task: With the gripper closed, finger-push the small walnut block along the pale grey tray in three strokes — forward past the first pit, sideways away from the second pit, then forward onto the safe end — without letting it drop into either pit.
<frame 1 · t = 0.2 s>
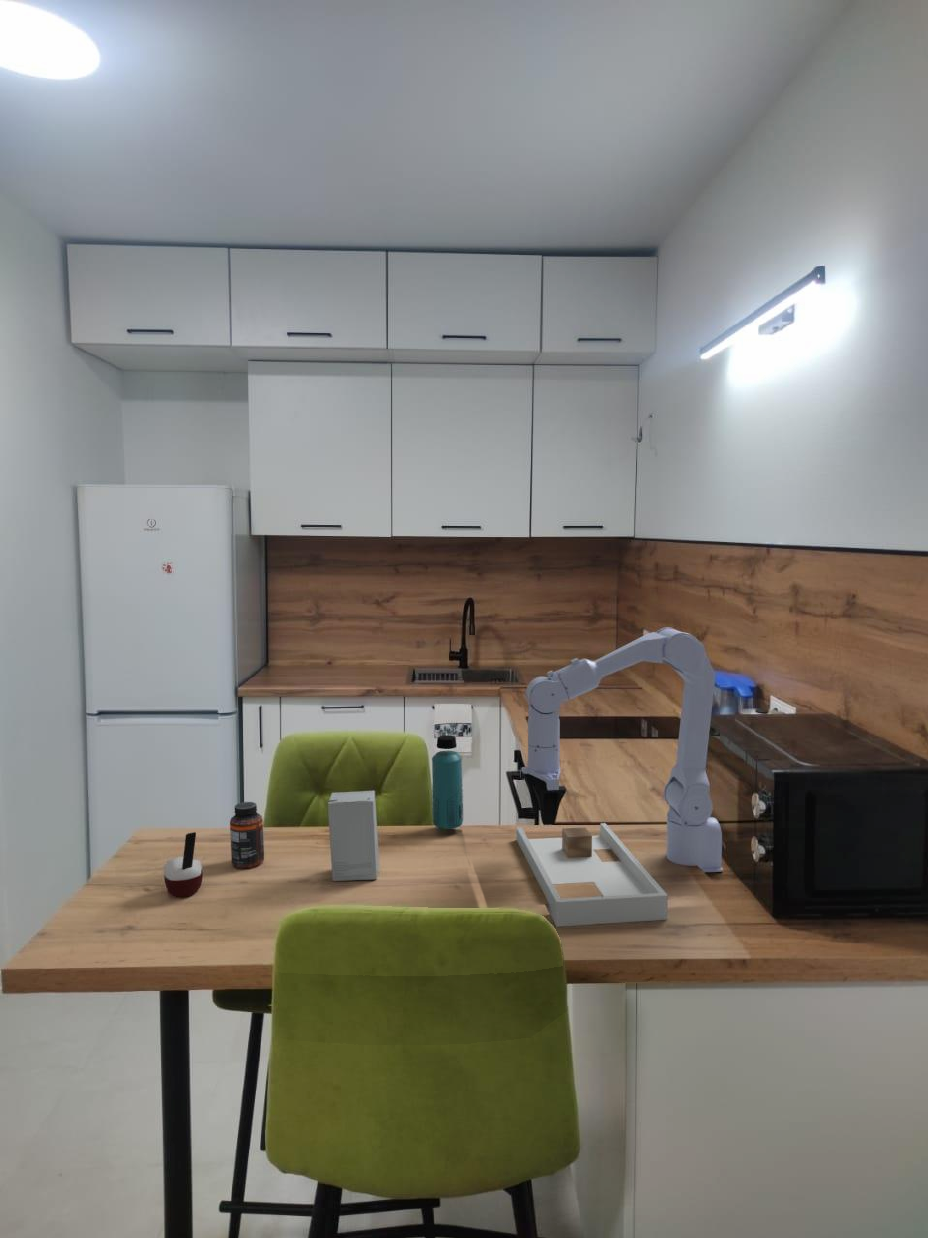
hand: (543, 817, 145), 10 cm above the countertop, fingers open, 7 cm apart
walnut block: (576, 852, 150), point 1 cm above the countertop, touching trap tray
skincare box: (354, 876, 144), on the countertop
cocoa: (184, 895, 136), on the countertop
beverage bottle: (447, 831, 166), on the countertop
supplement bottle: (247, 864, 149), on the countertop
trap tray: (583, 879, 141), on the countertop
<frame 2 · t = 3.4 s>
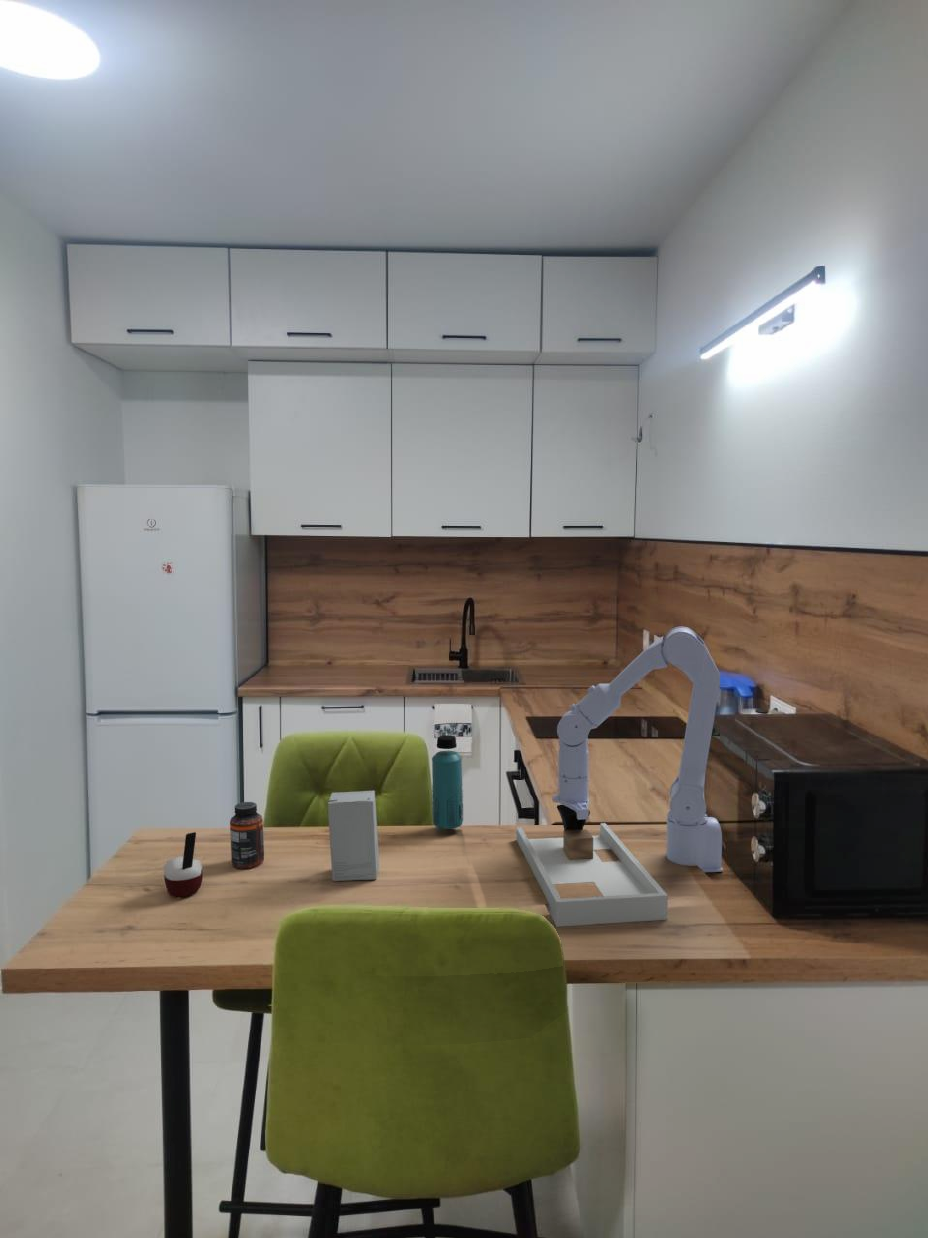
hand: (572, 843, 152), 2 cm above the countertop, fingers closed
walnut block: (578, 854, 149), point 1 cm above the countertop, touching gripper, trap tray
everything else where it was.
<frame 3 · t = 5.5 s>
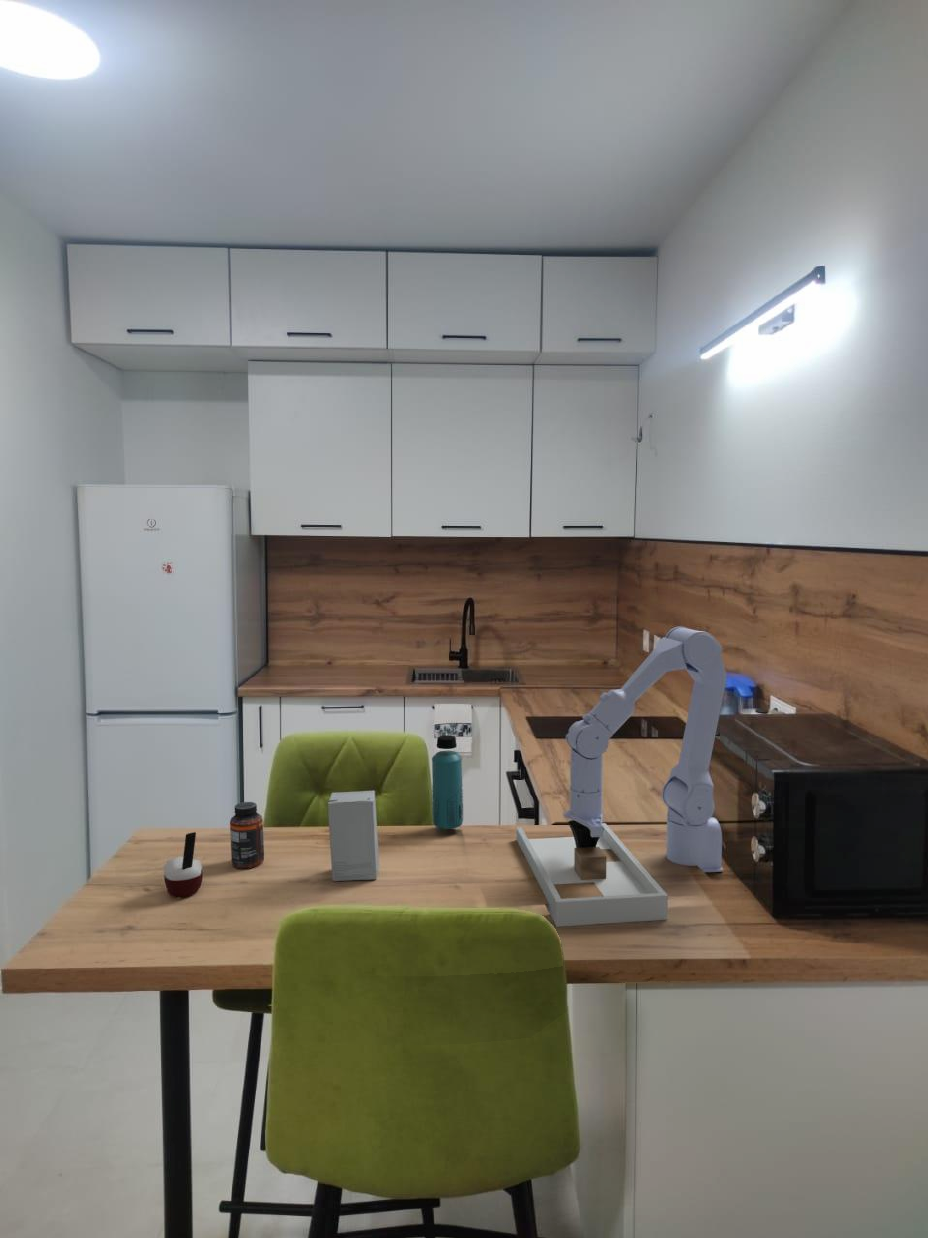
hand: (585, 861, 144), 2 cm above the countertop, fingers closed
walnut block: (590, 874, 140), point 1 cm above the countertop, touching gripper, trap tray
everything else where it was.
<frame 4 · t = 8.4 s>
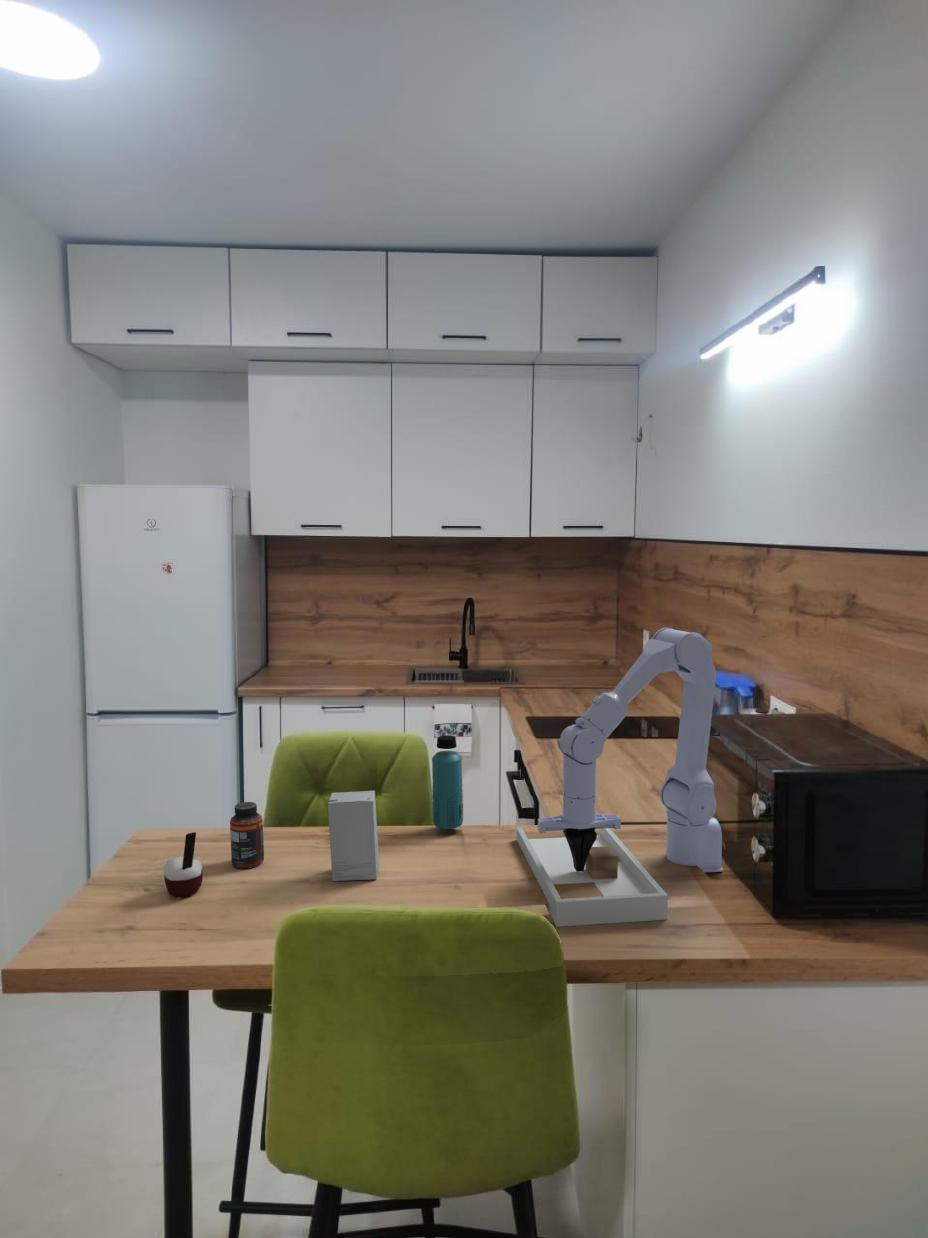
hand: (578, 869, 140), 2 cm above the countertop, fingers closed
walnut block: (601, 873, 140), point 2 cm above the countertop, touching gripper
everything else where it was.
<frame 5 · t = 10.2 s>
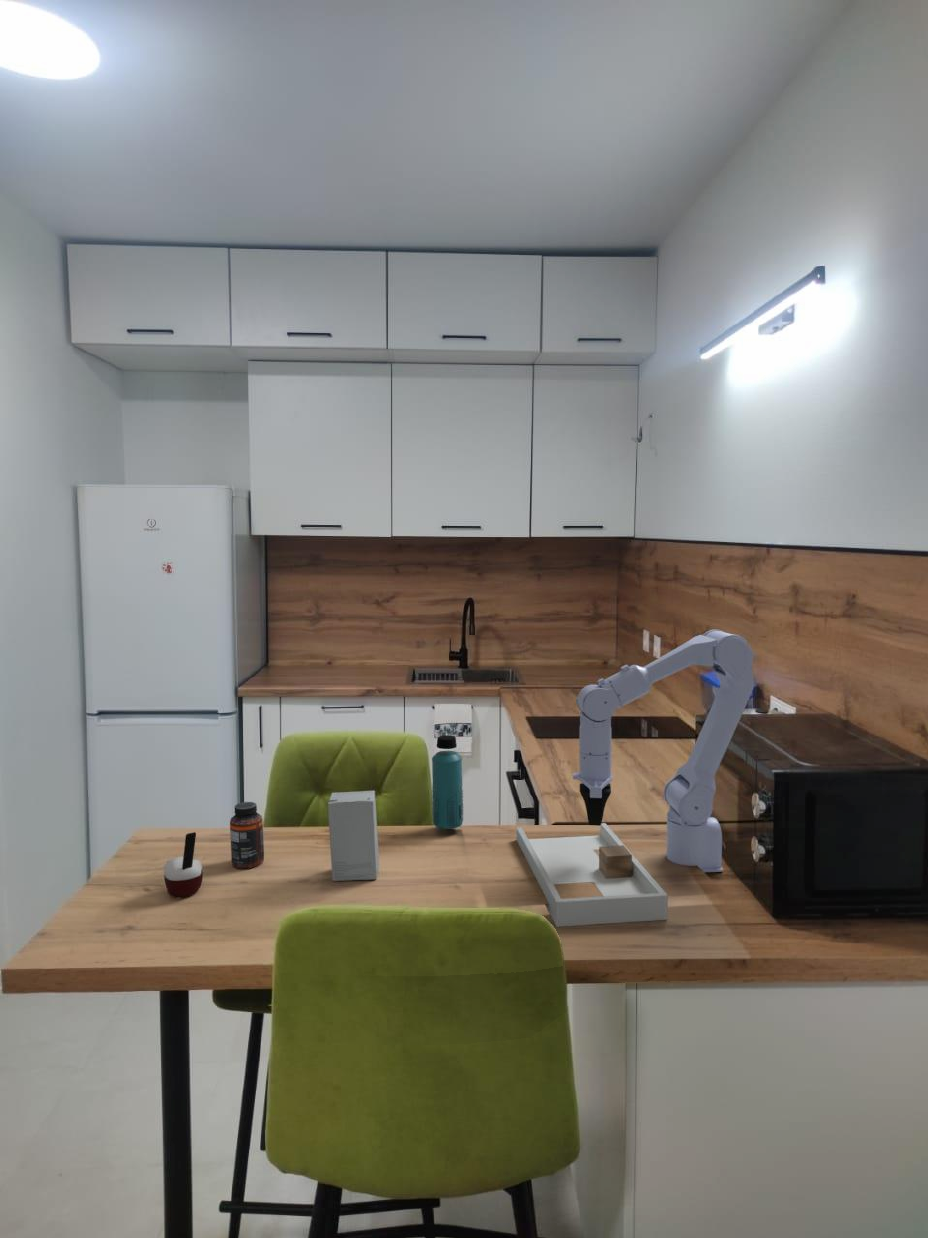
hand: (594, 824, 145), 8 cm above the countertop, fingers closed
walnut block: (615, 872, 140), point 1 cm above the countertop, touching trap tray
everything else where it was.
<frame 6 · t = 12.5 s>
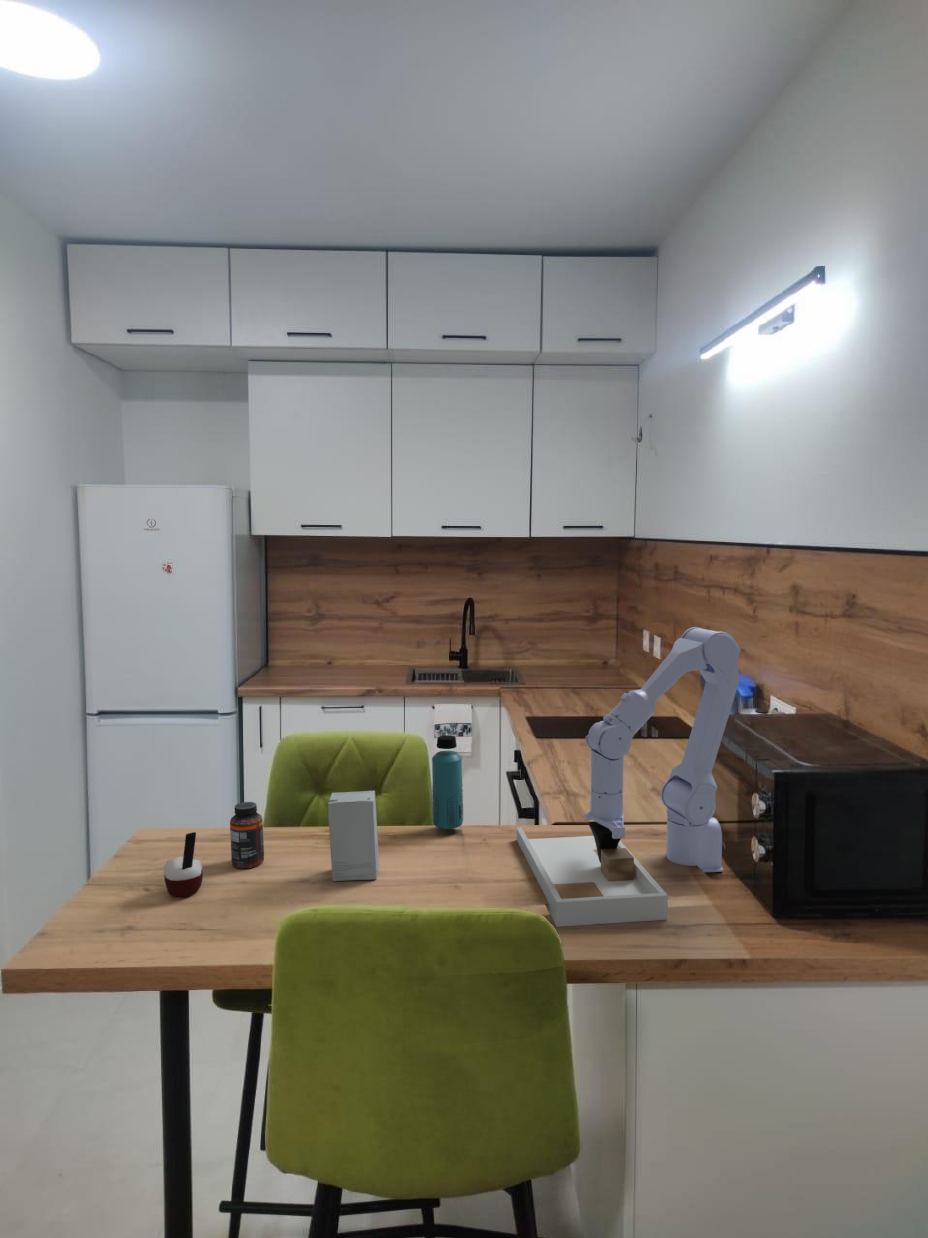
hand: (606, 863, 143), 2 cm above the countertop, fingers closed
walnut block: (616, 875, 139), point 1 cm above the countertop, touching gripper, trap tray
everything else where it was.
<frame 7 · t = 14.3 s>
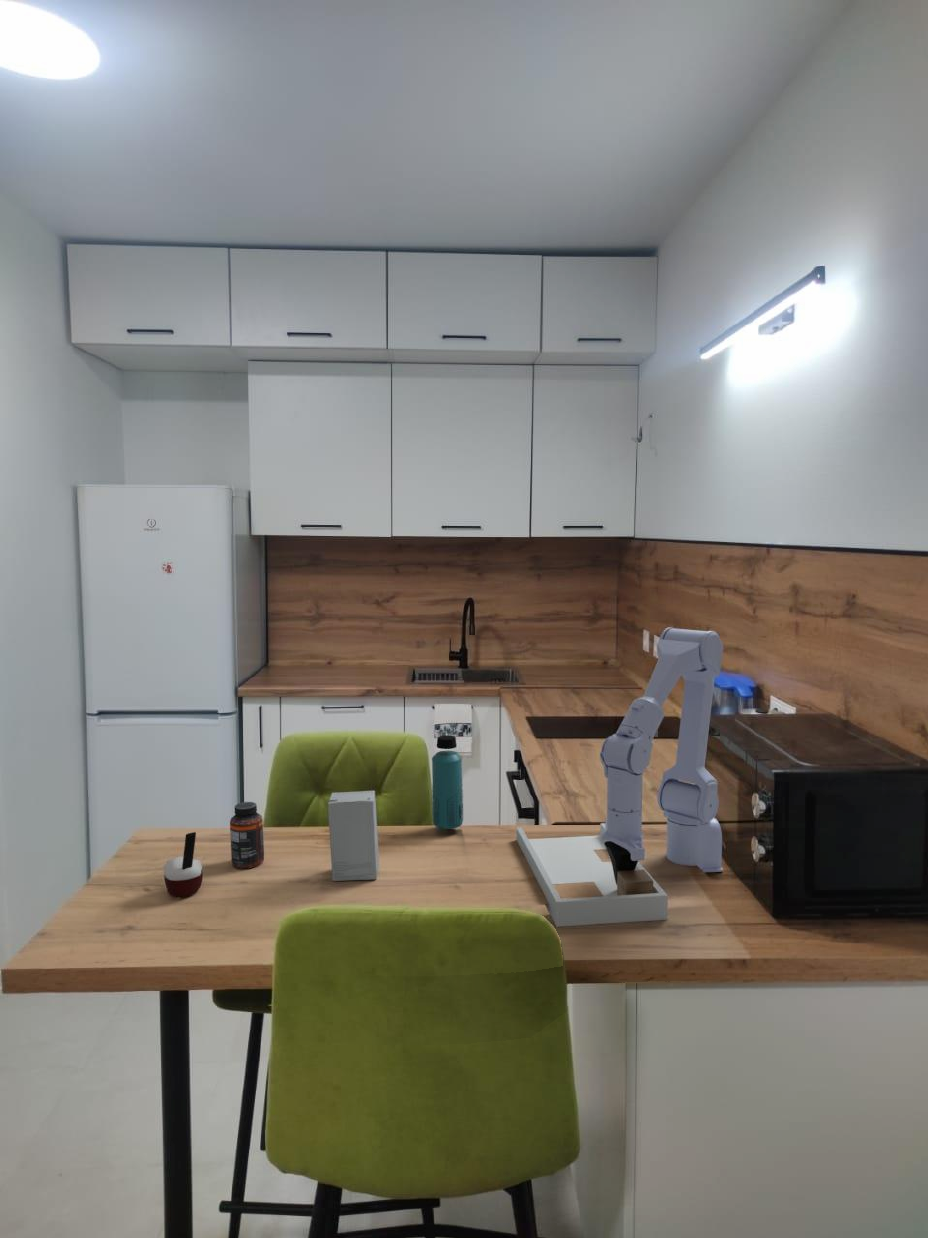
hand: (623, 885, 133), 2 cm above the countertop, fingers closed
walnut block: (634, 899, 130), point 2 cm above the countertop, touching gripper
everything else where it was.
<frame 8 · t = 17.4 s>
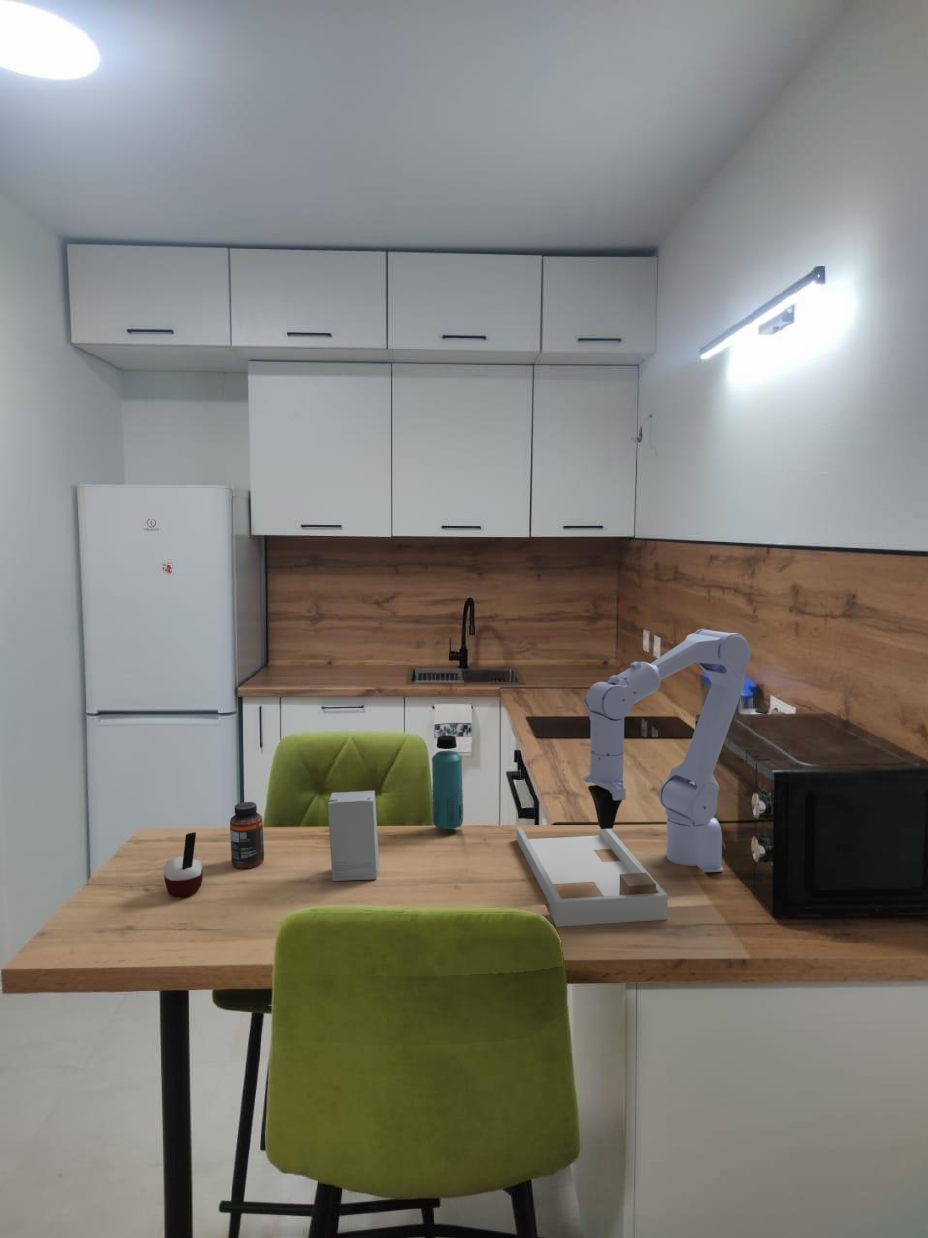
hand: (606, 827, 139), 10 cm above the countertop, fingers closed
walnut block: (637, 903, 129), point 1 cm above the countertop, touching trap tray
everything else where it was.
at the end: walnut block 0.8 cm from the target spot, point 1.5 cm above the countertop; walnut block tilted 0°; walnut block touching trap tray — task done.
